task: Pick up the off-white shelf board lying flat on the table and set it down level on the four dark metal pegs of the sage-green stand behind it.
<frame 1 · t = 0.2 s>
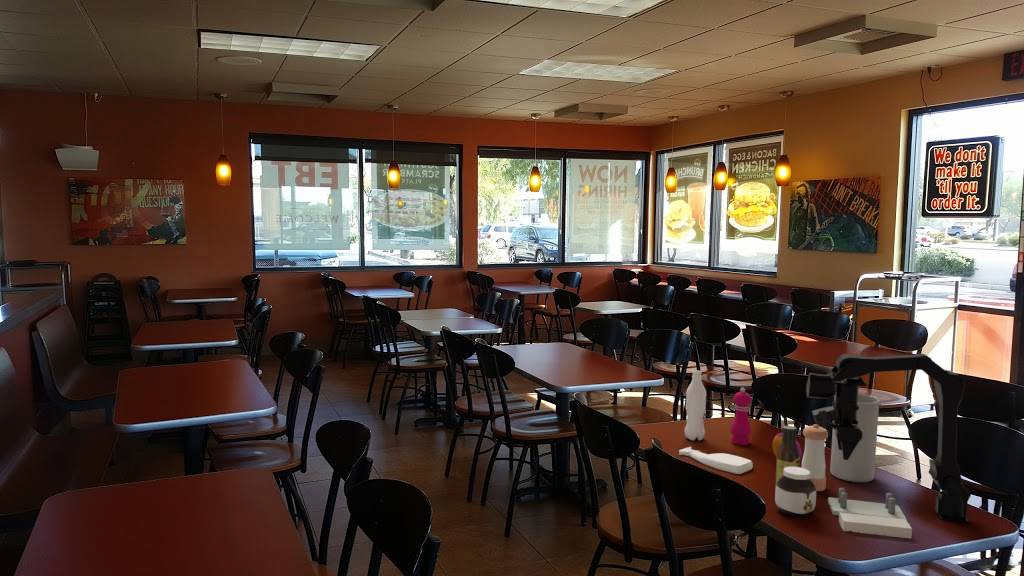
hand: (843, 454, 205), 14 cm above the table, tool pointing down, fingers open, 9 cm apart
pepper shaker: (812, 487, 220), on the table
spread jar: (793, 509, 203), on the table
cylinder vase: (851, 476, 230), on the table
peg stand: (865, 512, 201), on the table
shelf board: (874, 531, 190), on the table
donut: (785, 464, 241), on the table
pepper mill: (740, 442, 263), on the table
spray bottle: (713, 463, 241), on the table
water bottle: (694, 439, 266), on the table
sauce bottle: (786, 494, 213), on the table
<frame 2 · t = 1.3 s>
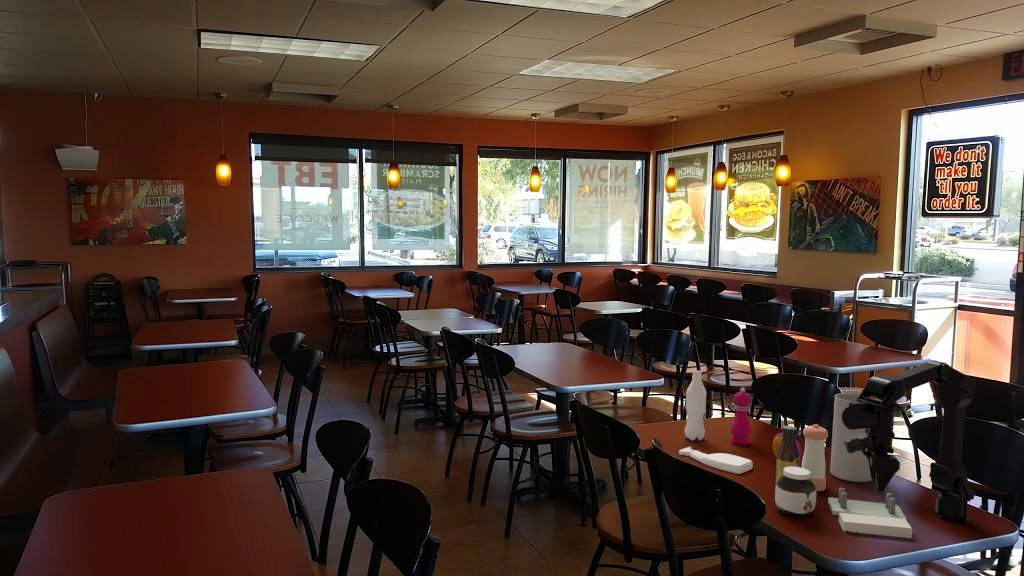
hand: (876, 485, 189), 12 cm above the table, tool pointing down, fingers open, 9 cm apart
nothing on the table moved.
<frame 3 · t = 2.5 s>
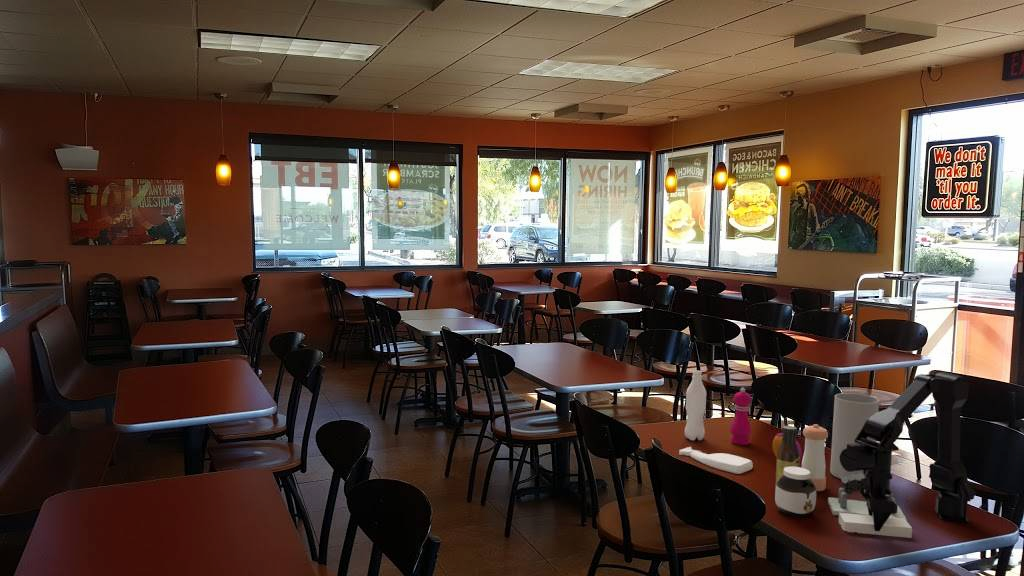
hand: (874, 525, 190), 1 cm above the table, tool pointing down, fingers closed on shelf board, 6 cm apart
shelf board: (874, 531, 190), on the table, touching gripper
everything else where it was.
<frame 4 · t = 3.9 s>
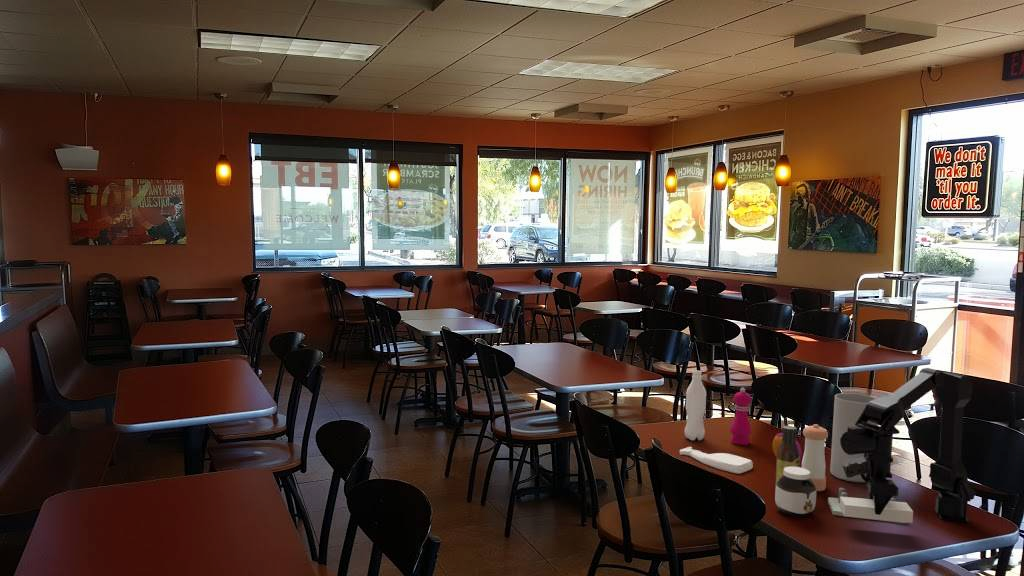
hand: (875, 509, 189), 5 cm above the table, tool pointing down, fingers closed on shelf board, 6 cm apart
shelf board: (875, 514, 189), point 4 cm above the table, touching gripper
everything else where it was.
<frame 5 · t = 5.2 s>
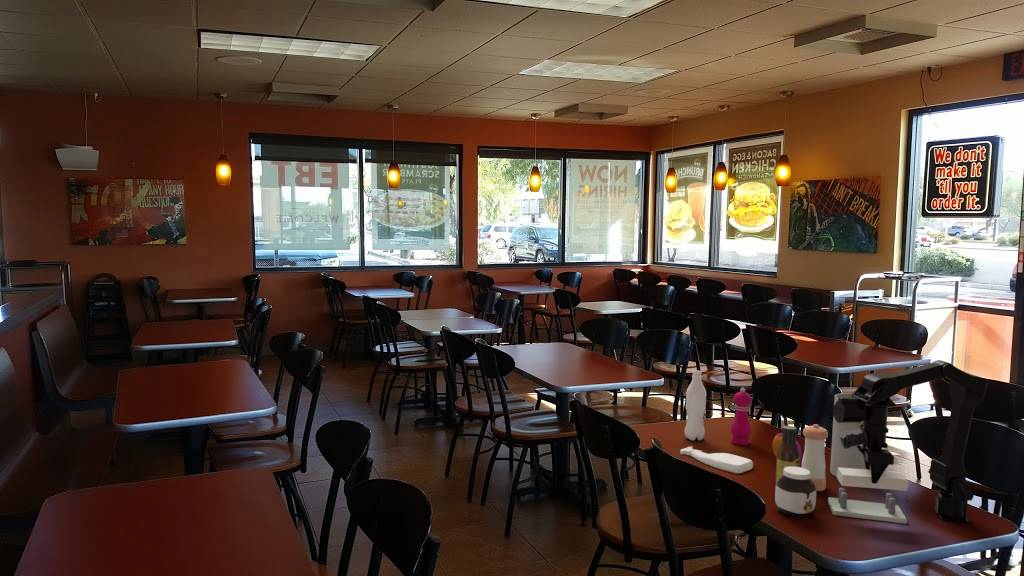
hand: (871, 479, 196), 11 cm above the table, tool pointing down, fingers closed on shelf board, 6 cm apart
shelf board: (871, 484, 196), point 9 cm above the table, touching gripper
everything else where it was.
when the fingers open (7 cm above the table, at t = 6.8 s): shelf board stays where it is, resting on peg stand.
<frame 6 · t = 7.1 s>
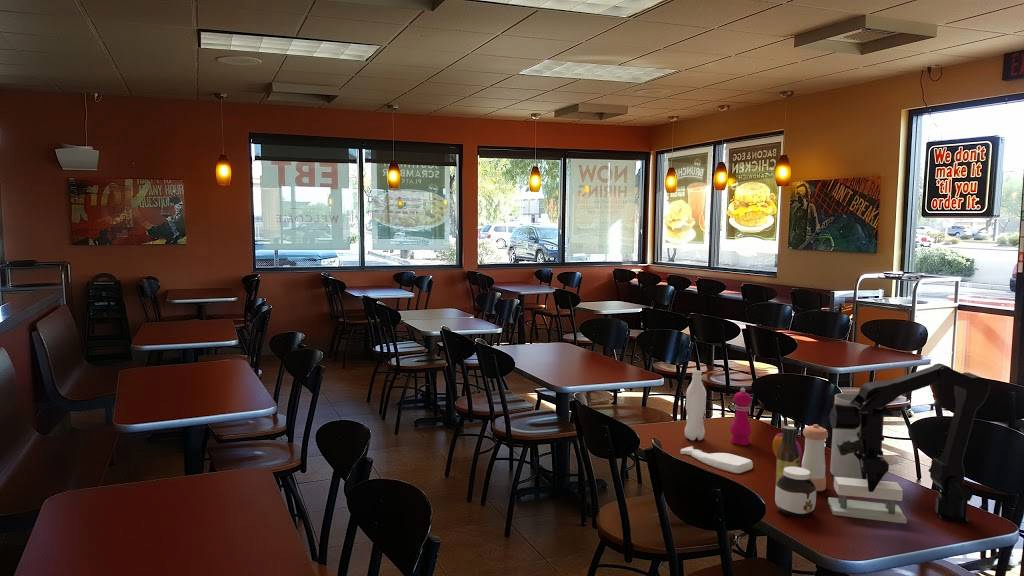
hand: (867, 485, 200), 7 cm above the table, tool pointing down, fingers open, 9 cm apart
shelf board: (867, 493, 201), point 5 cm above the table, touching peg stand
everything else where it was.
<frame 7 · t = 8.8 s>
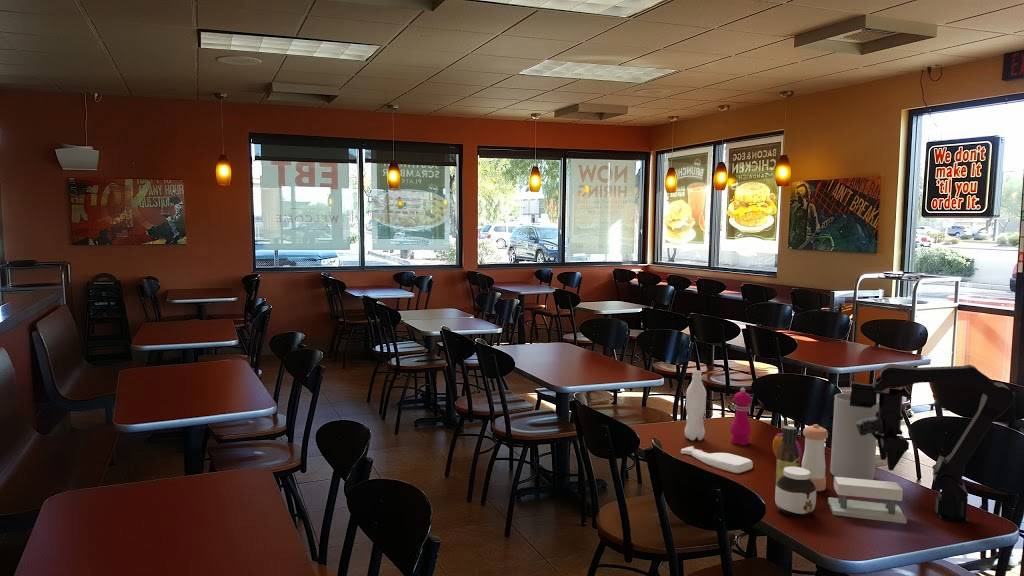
hand: (886, 464, 205), 12 cm above the table, tool pointing down, fingers open, 9 cm apart
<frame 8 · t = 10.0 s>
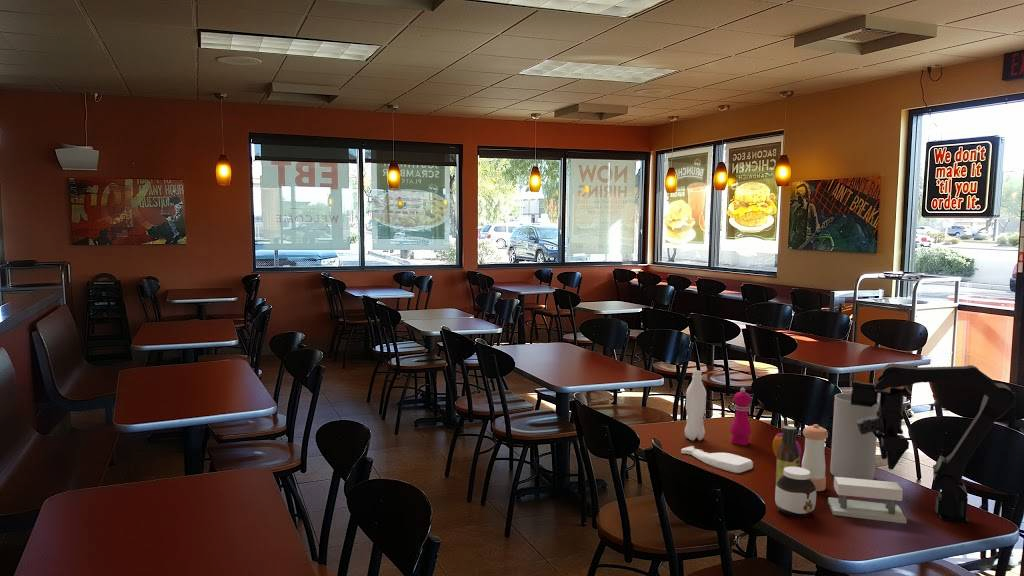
hand: (887, 463, 205), 12 cm above the table, tool pointing down, fingers open, 9 cm apart
at the end: shelf board 0.0 cm off-centre on the peg stand, point 5.2 cm above the peg stand's base; shelf board tilted 0°; the gripper is holding nothing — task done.
